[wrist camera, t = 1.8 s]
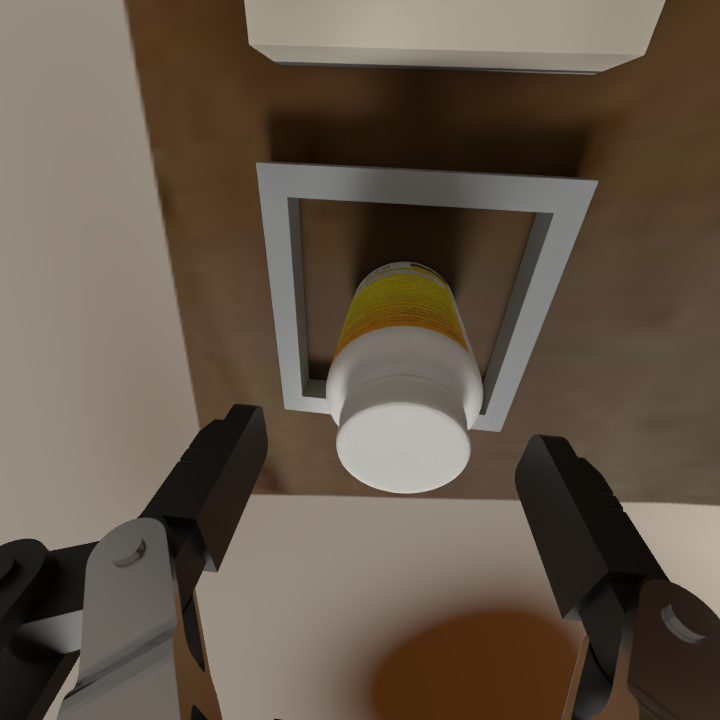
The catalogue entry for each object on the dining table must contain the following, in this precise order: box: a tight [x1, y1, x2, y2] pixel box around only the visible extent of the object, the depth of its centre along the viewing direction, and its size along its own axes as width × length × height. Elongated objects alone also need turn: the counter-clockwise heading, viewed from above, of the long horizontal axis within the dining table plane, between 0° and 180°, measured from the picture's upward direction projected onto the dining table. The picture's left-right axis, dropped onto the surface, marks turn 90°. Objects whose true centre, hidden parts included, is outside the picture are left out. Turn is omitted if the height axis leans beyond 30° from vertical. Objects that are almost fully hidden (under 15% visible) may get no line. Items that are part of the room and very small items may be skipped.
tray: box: [256, 161, 598, 432], centre depth 17 cm, size 13×13×2 cm
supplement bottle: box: [326, 262, 483, 493], centre depth 14 cm, size 6×6×10 cm
